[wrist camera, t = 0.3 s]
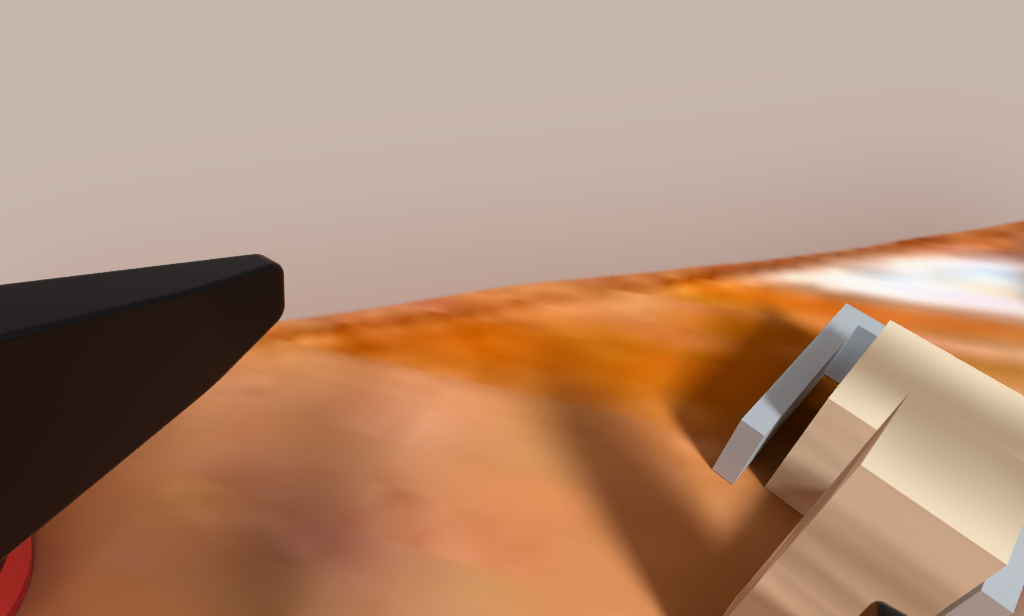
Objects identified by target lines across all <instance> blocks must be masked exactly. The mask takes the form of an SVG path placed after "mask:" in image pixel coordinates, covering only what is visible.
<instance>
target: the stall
mask: <svg viewBox="0 0 1024 616" xmlns="http://www.w3.org/2000/svg"><path fill="white" fill-rule="evenodd" d="M884 328H885V325H883V324H881V323H880V322H878V321H876V320H874V319H873V318H871V317H869V316H867V315H866V314H864V313H862V312H861V311H859V310H857V309H855V308H854V307H852V306H850V305H848V304H847V303H846V305H845V306H844V307H843V308H842V309H841V310H840V311H839V312H838V313H837V315H836V316H835V317H834V318H833V319H832V320H831V321H830V322H829V323H828V324H827V326H826V327H825V328H824V329H823V330H822V331H821V332H820V333H819V334H818V335H817V337H816V338H815V339H814V340H813V341H812V342H811V343H810V344H809V345H808V347H807V348H806V349H805V350H804V351H803V352H802V353H801V354H800V355H799V356H798V358H797V359H796V360H795V361H794V362H793V363H792V364H791V365H790V366H789V368H788V369H787V370H786V371H785V372H784V373H783V374H782V375H781V376H780V377H779V379H778V380H777V381H776V382H775V383H774V384H773V385H772V386H771V387H770V389H769V390H768V391H767V392H766V393H765V394H764V395H763V396H762V397H761V398H760V400H759V401H758V402H757V403H756V404H755V405H754V406H753V407H752V408H751V410H750V411H749V412H748V413H747V414H746V415H745V416H744V417H743V418H742V419H741V421H740V423H739V424H738V426H737V428H736V429H735V431H734V433H733V435H732V436H731V438H730V440H729V441H728V443H727V445H726V446H725V448H724V450H723V451H722V453H721V455H720V456H719V458H718V460H717V461H716V463H715V465H714V466H713V468H712V469H713V470H714V471H715V472H717V473H718V474H719V475H721V476H722V477H723V478H725V479H726V480H727V481H728V482H730V483H731V484H732V485H733V483H734V482H735V481H736V480H737V479H738V477H739V476H740V475H741V474H742V473H743V471H744V470H745V469H746V468H747V467H748V465H749V464H750V463H751V462H752V461H753V459H754V458H755V457H756V456H757V455H758V453H759V452H760V451H761V450H762V449H763V447H764V446H765V445H766V444H767V443H768V441H769V440H770V439H771V438H772V437H773V436H774V434H775V433H776V432H777V431H778V430H779V428H780V427H781V426H782V425H783V424H784V422H785V421H786V420H787V419H788V418H789V416H790V415H791V414H792V413H793V412H794V410H795V409H796V408H797V407H798V406H799V404H800V403H801V402H802V401H803V400H804V398H805V397H806V396H807V395H808V394H809V392H810V391H811V390H812V389H813V388H814V386H815V385H816V384H817V383H818V382H819V380H820V379H821V378H822V377H823V376H824V374H825V375H826V376H828V377H829V378H831V379H832V380H834V381H836V382H837V383H839V384H840V383H841V382H842V380H843V379H844V378H845V377H846V375H847V374H848V373H849V372H850V370H851V369H852V368H853V367H854V365H855V364H856V363H857V362H858V360H859V359H860V358H861V357H862V355H863V354H864V353H865V352H866V350H867V349H868V348H869V347H870V345H871V344H872V343H873V341H874V340H875V339H876V338H877V336H878V335H879V334H880V333H881V331H882V330H883V329H884ZM1023 585H1024V524H1023V526H1022V529H1021V531H1020V534H1019V536H1018V539H1017V541H1016V544H1015V546H1014V549H1013V551H1012V554H1011V556H1010V559H1009V561H1008V564H1007V565H1006V566H1005V567H1003V568H1002V569H1001V570H999V571H998V572H996V573H995V574H993V575H992V576H991V577H989V578H988V579H986V580H985V581H983V582H982V583H981V584H979V585H978V586H976V587H975V588H974V589H972V590H971V591H969V592H968V593H966V594H965V595H964V596H962V597H961V598H959V599H958V600H956V601H955V602H954V603H952V604H951V605H949V606H948V607H947V608H945V609H944V610H942V611H941V612H939V613H938V614H937V615H935V616H1009V615H1011V614H1013V612H1014V609H1015V607H1016V604H1017V601H1018V598H1019V596H1020V593H1021V590H1022V588H1023Z"/></svg>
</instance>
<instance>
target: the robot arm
mask: <svg viewBox="0 0 1024 616" xmlns="http://www.w3.org/2000/svg"><path fill="white" fill-rule="evenodd" d="M284 299H285V298H284V272H283V269H282V267H281V266H280V265H279V264H278V263H276V262H274V261H272V260H270V259H269V258H267V257H265V256H263V255H260V254H252V255H243V256H235V257H227V258H218V259H210V260H203V261H194V262H186V263H177V264H170V265H161V266H152V267H144V268H136V269H128V270H119V271H111V272H103V273H95V274H86V275H78V276H70V277H61V278H53V279H45V280H37V281H28V282H20V283H12V284H4V285H0V561H1V560H3V559H4V558H5V557H6V556H7V555H9V554H10V553H11V552H12V551H13V550H15V549H16V548H17V547H18V546H20V545H21V544H22V543H23V542H24V541H26V540H27V539H28V538H29V537H31V536H32V535H33V534H34V533H35V532H37V531H38V530H39V529H40V528H41V527H43V526H44V525H45V524H46V523H48V522H49V521H50V520H51V519H52V518H54V517H55V516H56V515H57V514H58V513H60V512H61V511H62V510H63V509H65V508H66V507H67V506H68V505H69V504H71V503H72V502H73V501H74V500H76V499H77V498H78V497H79V496H80V495H82V494H83V493H84V492H85V491H86V490H88V489H89V488H90V487H91V486H93V485H94V484H95V483H96V482H97V481H99V480H100V479H101V478H102V477H103V476H105V475H106V474H107V473H108V472H110V471H111V470H112V469H113V468H114V467H116V466H117V465H118V464H119V463H121V462H122V461H123V460H124V459H125V458H127V457H128V456H129V455H130V454H131V453H133V452H134V451H135V450H136V449H138V448H139V447H140V446H141V445H142V444H144V443H145V442H146V441H147V440H148V439H150V438H151V437H152V436H153V435H155V434H156V433H157V432H158V431H159V430H161V429H162V428H163V427H164V426H166V425H167V424H168V423H169V422H170V421H172V420H173V419H174V418H175V417H176V416H178V415H179V414H180V413H181V412H183V411H184V410H185V409H186V408H187V407H189V406H190V405H191V404H192V403H193V402H195V401H196V400H197V399H198V398H200V397H201V396H202V395H203V394H204V393H205V392H207V391H208V390H209V389H210V388H211V387H212V386H213V385H214V384H215V383H216V382H217V381H219V380H220V379H221V378H222V377H223V376H224V375H225V374H226V373H227V372H228V371H229V370H230V369H231V368H232V367H233V366H234V365H235V364H236V363H237V362H238V361H239V360H240V359H241V358H242V357H243V356H244V355H245V354H246V353H247V352H248V351H249V350H250V349H251V348H252V347H253V346H254V345H255V344H256V343H257V342H258V341H259V340H260V339H261V338H262V337H263V336H264V335H265V334H266V333H267V332H268V331H269V330H270V329H271V328H272V327H273V326H274V325H275V324H276V323H277V321H278V320H279V319H280V317H281V316H282V314H283V311H284V307H285V300H284ZM859 616H908V615H906V614H905V613H903V612H901V611H899V610H897V609H896V608H894V607H892V606H890V605H889V604H887V603H885V602H883V601H875V602H873V603H871V604H870V605H869V606H868V607H867V608H866V609H865V610H864V611H863V612H862V613H861V614H860V615H859Z"/></svg>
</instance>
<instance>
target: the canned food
mask: <svg viewBox="0 0 1024 616" xmlns="http://www.w3.org/2000/svg"><path fill="white" fill-rule="evenodd" d="M32 568H33V555H32V540H31V537H29V538H28V539H27V540H26V541H24V542H23V543H22V544H21V545H20V546H18V547H17V548H16V549H15V550H13V551H12V552H11V553H10V554H9V555H7V556H6V557H5V558H4V559H3V560H1V561H0V616H15V615H16V613H17V611H18V610H19V608H20V606H21V604H22V601H23V599H24V597H25V594H26V592H27V589H28V587H29V584H30V579H31V573H32Z"/></svg>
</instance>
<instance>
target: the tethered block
mask: <svg viewBox="0 0 1024 616" xmlns="http://www.w3.org/2000/svg"><path fill="white" fill-rule="evenodd" d="M765 488H767V489H768V490H769V491H771V492H772V493H773V494H775V495H776V496H777V497H779V498H780V499H781V500H783V501H784V502H785V503H787V504H788V505H789V506H791V507H792V508H793V509H795V510H796V511H797V512H799V513H800V514H801V515H803V516H804V517H803V518H802V519H801V521H800V522H799V523H798V524H797V525H796V527H795V528H794V529H793V530H792V531H791V532H790V534H789V535H788V536H787V537H786V538H785V540H784V541H783V542H782V543H781V544H780V545H779V547H778V548H777V549H776V550H775V551H774V553H773V554H772V555H771V556H770V557H769V558H768V560H767V561H766V562H765V563H764V564H763V565H762V567H761V568H760V569H759V570H758V571H757V573H756V574H755V575H754V576H753V577H752V578H751V580H750V581H749V582H748V583H747V584H746V586H745V587H744V588H743V589H742V590H741V591H740V593H739V594H738V595H737V596H736V597H735V599H734V600H733V602H732V603H731V604H730V606H729V607H728V609H727V610H726V611H725V613H724V614H723V616H859V615H860V614H861V613H862V612H863V611H864V610H865V609H866V608H867V607H868V606H869V605H870V604H871V603H873V602H875V601H883V602H885V603H887V604H889V605H890V606H892V607H894V608H896V609H897V610H899V611H901V612H903V613H905V614H906V615H908V616H935V615H937V614H938V613H939V612H941V611H942V610H944V609H945V608H947V607H948V606H949V605H951V604H952V603H954V602H955V601H956V600H958V599H959V598H961V597H962V596H964V595H965V594H966V593H968V592H969V591H971V590H972V589H974V588H975V587H976V586H978V585H979V584H981V583H982V582H983V581H985V580H986V579H988V578H989V577H991V576H992V575H993V574H995V573H996V572H998V571H999V570H1001V569H1002V568H1003V567H1005V566H1006V565H1007V564H1008V561H1009V559H1010V556H1011V554H1012V551H1013V549H1014V546H1015V544H1016V541H1017V539H1018V536H1019V534H1020V531H1021V529H1022V526H1023V524H1024V396H1022V395H1021V394H1019V393H1017V392H1015V391H1014V390H1012V389H1010V388H1008V387H1007V386H1005V385H1003V384H1001V383H1000V382H998V381H996V380H994V379H993V378H991V377H989V376H987V375H986V374H984V373H982V372H980V371H979V370H977V369H975V368H973V367H972V366H970V365H968V364H966V363H965V362H963V361H961V360H959V359H958V358H956V357H954V356H952V355H951V354H949V353H947V352H945V351H944V350H942V349H940V348H938V347H937V346H935V345H933V344H931V343H930V342H928V341H926V340H924V339H923V338H921V337H919V336H917V335H916V334H914V333H912V332H910V331H909V330H907V329H905V328H903V327H902V326H900V325H898V324H896V323H895V322H893V321H891V320H890V321H889V323H888V324H887V325H886V326H885V328H884V329H883V330H882V331H881V333H880V334H879V335H878V336H877V338H876V339H875V340H874V341H873V343H872V344H871V345H870V347H869V348H868V349H867V350H866V352H865V353H864V354H863V355H862V357H861V358H860V359H859V360H858V362H857V363H856V364H855V365H854V367H853V368H852V369H851V370H850V372H849V373H848V374H847V375H846V377H845V378H844V379H843V380H842V382H841V383H840V384H839V385H838V387H837V388H836V389H835V390H834V392H833V393H832V394H831V395H830V397H829V398H828V399H827V401H826V402H825V404H824V405H823V406H822V408H821V409H820V411H819V412H818V413H817V415H816V416H815V417H814V419H813V420H812V422H811V423H810V424H809V426H808V427H807V429H806V430H805V431H804V433H803V434H802V436H801V437H800V438H799V440H798V441H797V442H796V444H795V445H794V447H793V448H792V449H791V451H790V452H789V454H788V455H787V456H786V458H785V459H784V461H783V462H782V463H781V465H780V466H779V468H778V469H777V470H776V472H775V473H774V474H773V476H772V477H771V479H770V480H769V481H768V483H767V484H766V486H765Z"/></svg>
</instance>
